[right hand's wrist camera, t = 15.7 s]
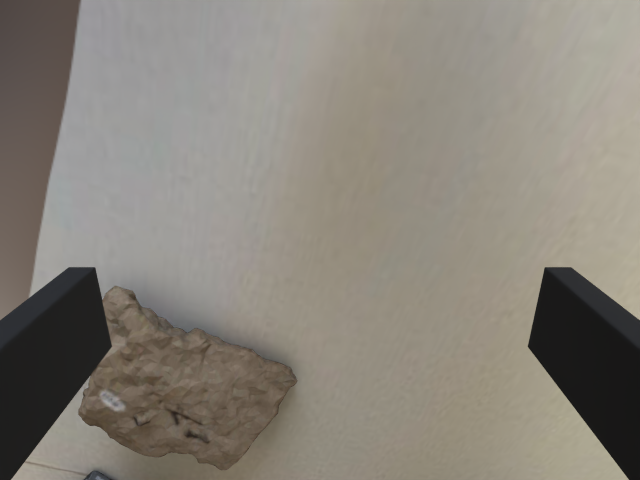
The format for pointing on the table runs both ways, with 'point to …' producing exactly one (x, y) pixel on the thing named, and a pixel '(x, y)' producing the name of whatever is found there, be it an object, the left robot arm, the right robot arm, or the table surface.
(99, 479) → the graphics card box
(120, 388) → the stone
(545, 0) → the table surface
